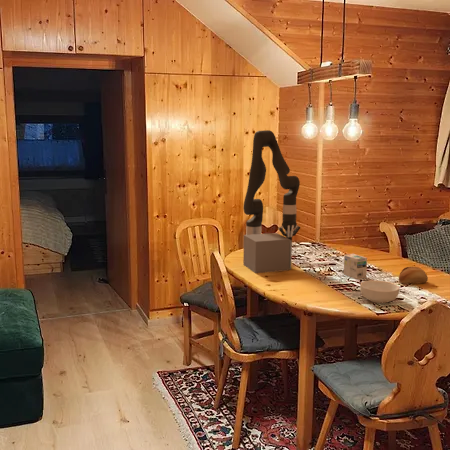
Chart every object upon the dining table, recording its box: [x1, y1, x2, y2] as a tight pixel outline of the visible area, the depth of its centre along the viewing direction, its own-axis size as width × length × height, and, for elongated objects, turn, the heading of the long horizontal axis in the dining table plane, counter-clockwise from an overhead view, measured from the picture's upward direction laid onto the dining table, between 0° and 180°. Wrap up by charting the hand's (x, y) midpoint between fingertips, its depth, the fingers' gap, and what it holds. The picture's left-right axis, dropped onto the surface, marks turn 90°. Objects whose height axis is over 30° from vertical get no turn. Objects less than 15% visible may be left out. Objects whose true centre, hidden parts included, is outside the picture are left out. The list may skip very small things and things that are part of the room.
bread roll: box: [398, 266, 428, 284], centre depth 270 cm, size 10×15×8 cm, turn 103°
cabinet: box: [243, 232, 290, 274], centre depth 297 cm, size 18×20×17 cm
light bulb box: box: [343, 253, 368, 280], centre depth 281 cm, size 11×7×11 cm, turn 27°
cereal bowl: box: [359, 279, 400, 304], centre depth 243 cm, size 17×17×7 cm
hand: (288, 243), depth 301 cm, fingers closed
